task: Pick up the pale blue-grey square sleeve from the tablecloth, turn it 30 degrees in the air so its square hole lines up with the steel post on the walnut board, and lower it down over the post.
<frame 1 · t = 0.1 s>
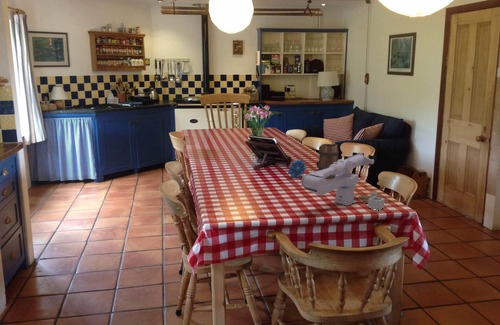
hand: (369, 156, 244), 22 cm above the table, tool horizontal, fingers open, 7 cm apart
supplement box: (342, 184, 270), on the table
blue bumpy rounded lump: (296, 177, 284), on the table
tankard: (325, 175, 291), on the table
board: (373, 200, 239), on the table
sleeve: (375, 208, 226), on the table
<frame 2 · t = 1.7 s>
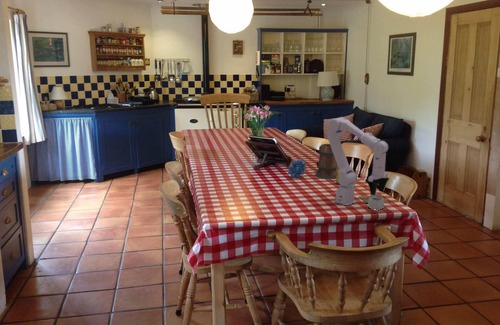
hand: (377, 193, 224), 8 cm above the table, tool pointing down, fingers open, 7 cm apart
nothing on the table moved.
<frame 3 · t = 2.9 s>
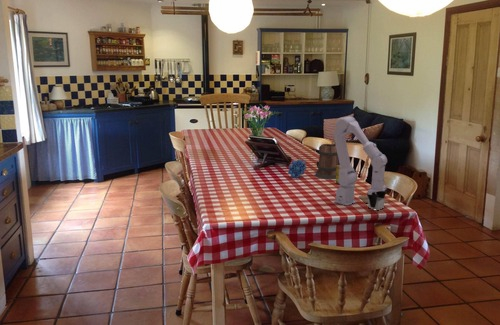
hand: (376, 205, 226), 1 cm above the table, tool pointing down, fingers closed on sleeve, 6 cm apart
sleeve: (375, 208, 226), on the table, touching gripper
everything else where it was.
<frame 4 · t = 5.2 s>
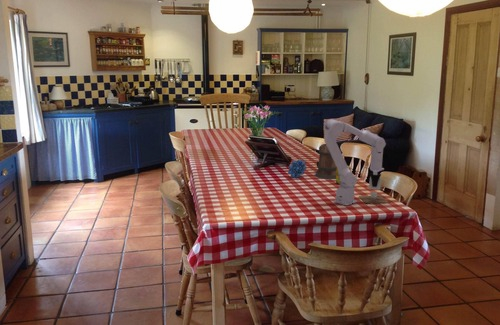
hand: (374, 185, 237), 8 cm above the table, tool pointing down, fingers closed on sleeve, 6 cm apart
sleeve: (374, 187, 237), point 7 cm above the table, touching gripper
everything else where it was.
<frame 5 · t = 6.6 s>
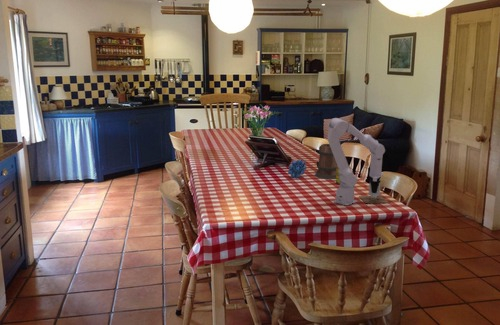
hand: (374, 191, 238), 5 cm above the table, tool pointing down, fingers closed on sleeve, 6 cm apart
sleeve: (374, 193, 238), point 3 cm above the table, touching gripper
everything else where it was.
when the fingers open (4 cm above the table, at t = 7.5 s): sleeve drops 1 cm, resting on board.
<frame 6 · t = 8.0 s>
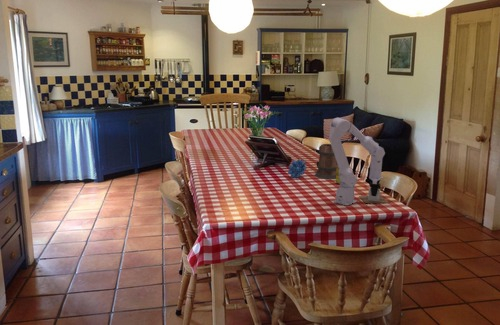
hand: (374, 193, 238), 4 cm above the table, tool pointing down, fingers open, 7 cm apart
sleeve: (373, 199, 239), point 1 cm above the table, touching board
everything else where it was.
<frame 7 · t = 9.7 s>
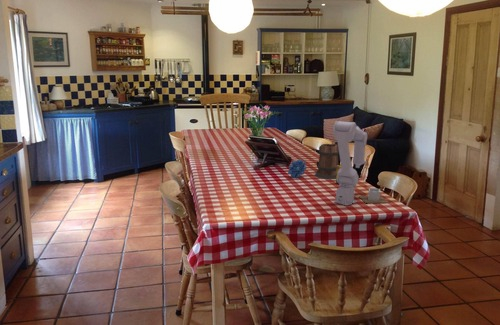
hand: (357, 177, 247), 9 cm above the table, tool pointing down, fingers open, 7 cm apart
nothing on the table moved.
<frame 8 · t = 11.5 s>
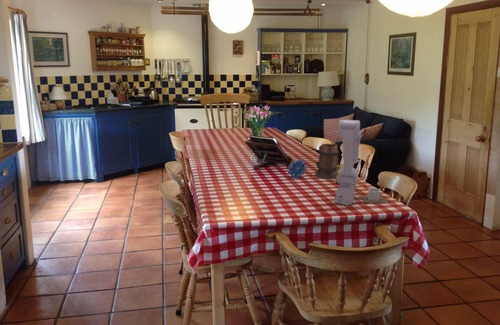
hand: (351, 176, 250), 9 cm above the table, tool pointing down, fingers open, 7 cm apart
nothing on the table moved.
at the end: sleeve 0.1 cm off-centre on the board, point 0.6 cm above the board's base; sleeve tilted 0°; the gripper is holding nothing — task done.
